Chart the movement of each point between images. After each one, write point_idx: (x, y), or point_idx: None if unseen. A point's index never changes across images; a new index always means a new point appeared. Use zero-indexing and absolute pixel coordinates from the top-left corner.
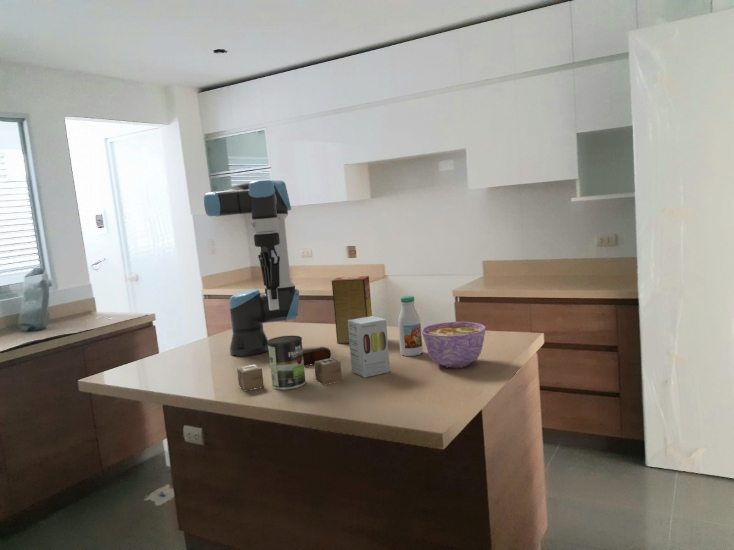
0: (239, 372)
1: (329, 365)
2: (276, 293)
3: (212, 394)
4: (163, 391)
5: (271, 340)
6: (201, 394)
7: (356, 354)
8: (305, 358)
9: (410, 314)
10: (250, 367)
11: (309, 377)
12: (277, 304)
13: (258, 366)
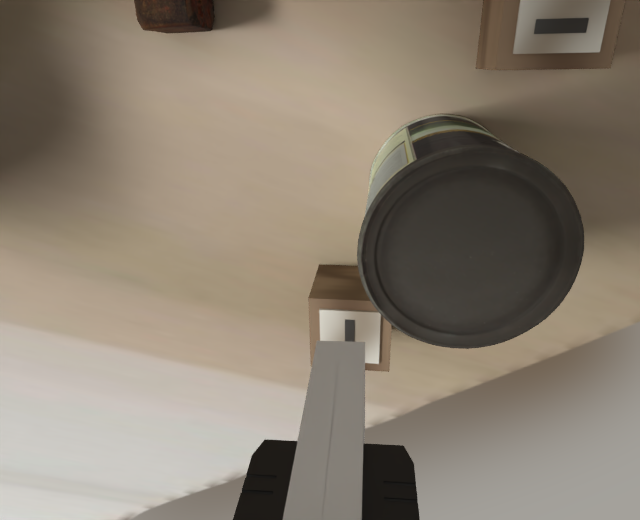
0: None
1: (618, 18)
2: (418, 516)
3: None
4: (212, 477)
5: (407, 313)
6: None
7: None
8: (204, 9)
9: None
10: (353, 334)
11: (409, 75)
12: (364, 384)
13: (353, 303)
